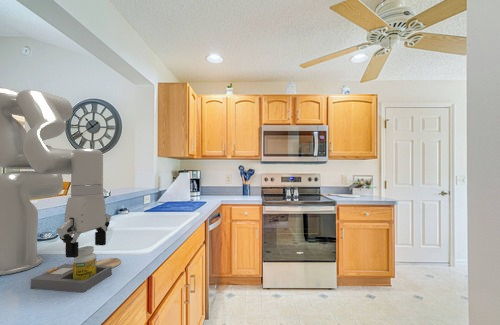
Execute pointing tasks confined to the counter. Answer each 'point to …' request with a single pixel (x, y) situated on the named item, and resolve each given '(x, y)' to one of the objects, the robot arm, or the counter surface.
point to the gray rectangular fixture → (68, 279)
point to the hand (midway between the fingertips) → (87, 250)
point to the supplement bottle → (84, 263)
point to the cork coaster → (109, 262)
